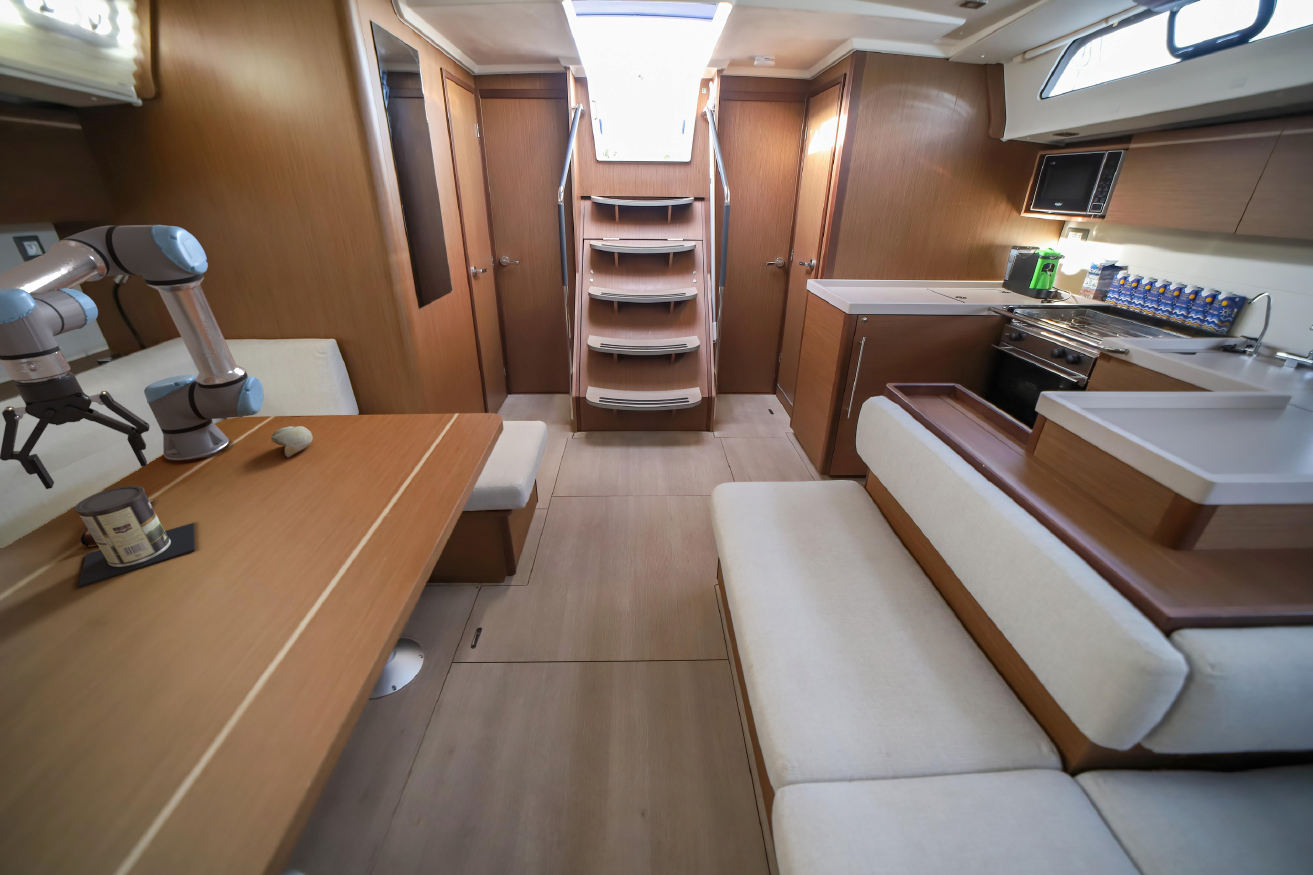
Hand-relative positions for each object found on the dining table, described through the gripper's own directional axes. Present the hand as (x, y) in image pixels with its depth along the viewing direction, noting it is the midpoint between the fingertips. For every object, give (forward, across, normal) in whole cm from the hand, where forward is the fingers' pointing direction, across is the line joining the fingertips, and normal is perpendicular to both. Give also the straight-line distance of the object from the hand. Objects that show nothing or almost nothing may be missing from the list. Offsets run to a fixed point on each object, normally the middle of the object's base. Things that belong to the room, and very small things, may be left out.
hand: (99, 474), depth 102 cm
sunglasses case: (+20, -4, +17) cm, 27 cm away
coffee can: (+20, 0, -1) cm, 20 cm away
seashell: (+21, +34, +36) cm, 54 cm away
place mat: (+20, 0, -1) cm, 20 cm away
